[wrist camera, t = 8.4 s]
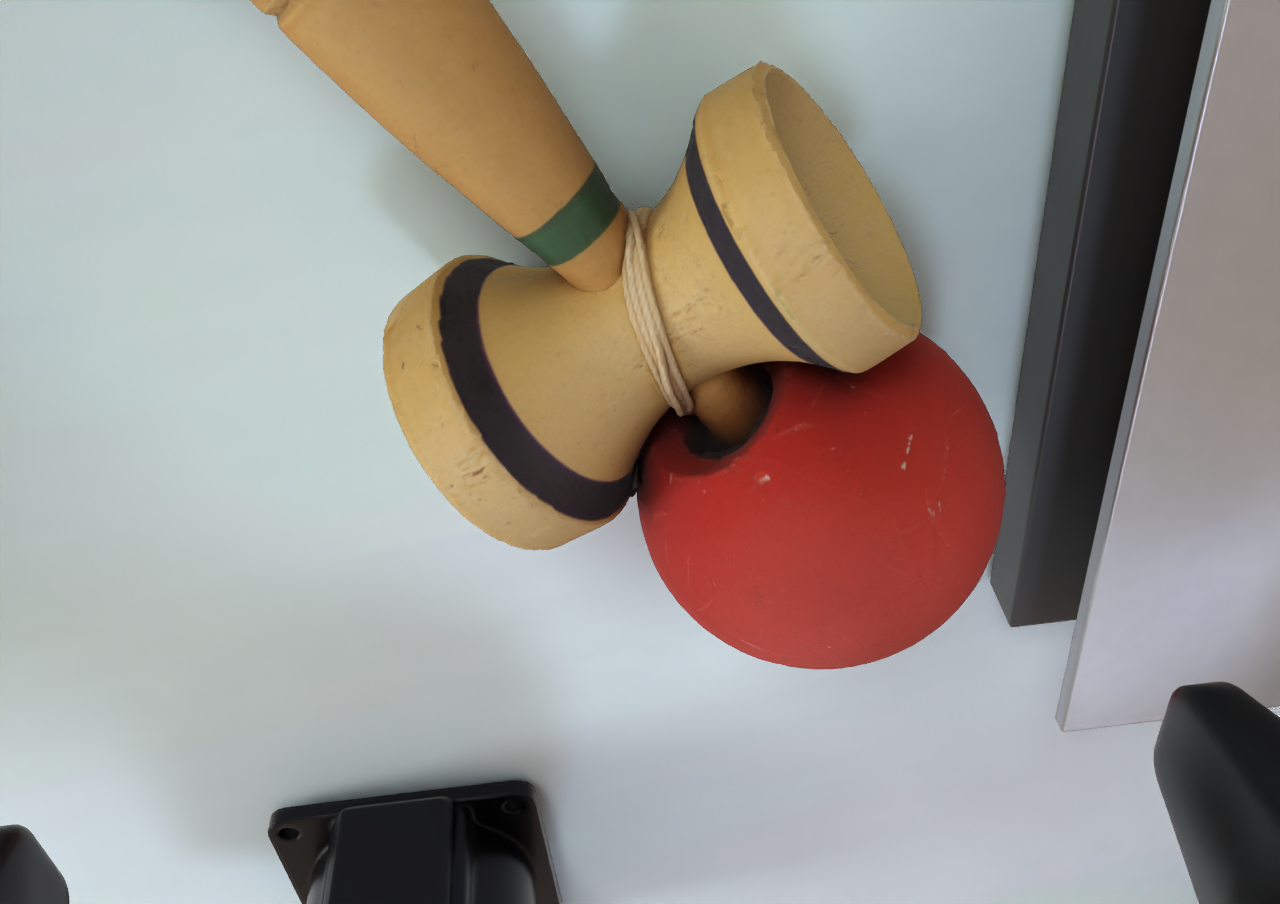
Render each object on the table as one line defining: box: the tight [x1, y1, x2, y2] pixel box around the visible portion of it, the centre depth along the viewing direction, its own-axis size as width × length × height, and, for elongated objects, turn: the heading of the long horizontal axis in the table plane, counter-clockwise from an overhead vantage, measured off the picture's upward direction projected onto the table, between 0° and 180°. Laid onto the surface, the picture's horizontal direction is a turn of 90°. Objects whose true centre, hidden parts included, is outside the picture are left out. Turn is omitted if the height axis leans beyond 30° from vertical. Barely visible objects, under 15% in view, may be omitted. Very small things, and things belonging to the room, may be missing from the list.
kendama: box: [250, 0, 1006, 669], centre depth 17 cm, size 8×6×18 cm
